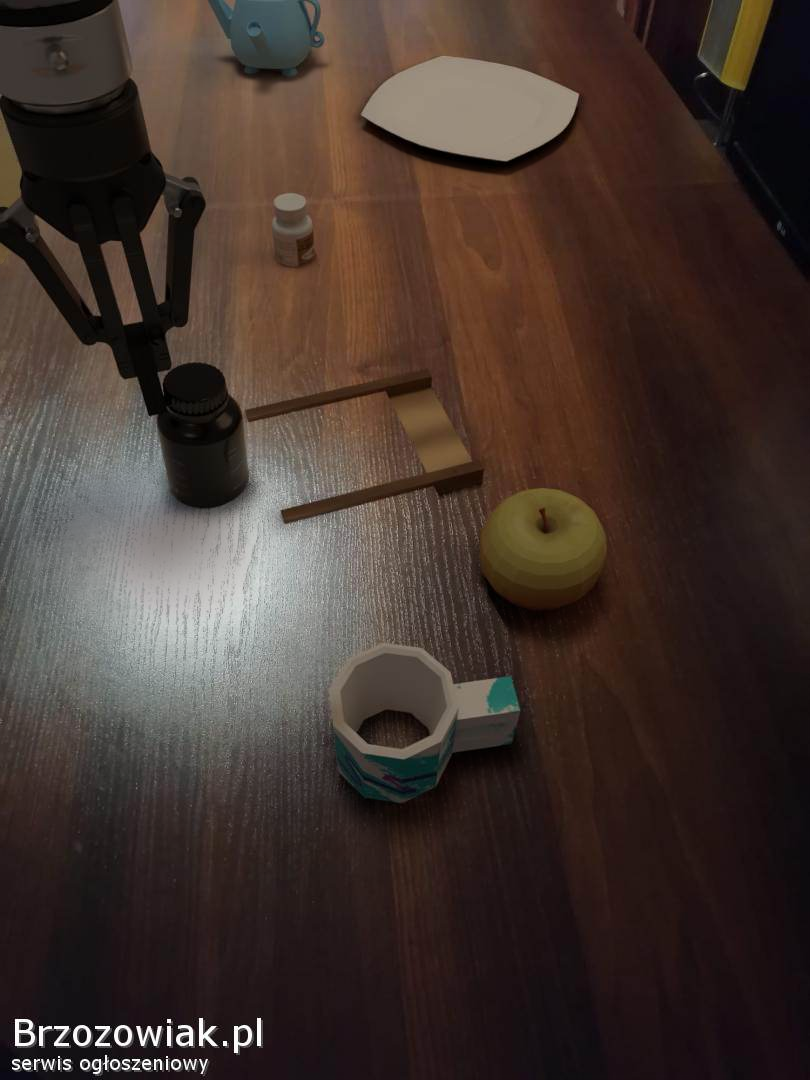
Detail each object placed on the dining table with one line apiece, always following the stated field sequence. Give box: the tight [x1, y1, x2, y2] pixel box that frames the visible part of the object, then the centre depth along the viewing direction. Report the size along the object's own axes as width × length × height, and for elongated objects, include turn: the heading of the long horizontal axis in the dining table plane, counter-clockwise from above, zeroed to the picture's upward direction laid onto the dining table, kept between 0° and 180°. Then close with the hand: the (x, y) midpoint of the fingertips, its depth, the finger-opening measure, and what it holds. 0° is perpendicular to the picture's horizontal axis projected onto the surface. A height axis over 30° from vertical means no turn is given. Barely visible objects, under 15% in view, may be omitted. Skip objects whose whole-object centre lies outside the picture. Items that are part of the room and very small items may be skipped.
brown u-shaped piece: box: [244, 368, 485, 524], centre depth 78 cm, size 14×18×2 cm
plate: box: [360, 55, 580, 163], centre depth 118 cm, size 27×27×2 cm
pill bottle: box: [271, 192, 316, 268], centre depth 93 cm, size 4×4×8 cm
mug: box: [328, 642, 521, 804], centre depth 57 cm, size 8×12×8 cm
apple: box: [478, 487, 608, 611], centre depth 67 cm, size 10×10×8 cm
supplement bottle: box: [155, 361, 250, 510], centre depth 71 cm, size 7×7×12 cm
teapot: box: [207, 0, 325, 77], centre depth 124 cm, size 15×14×11 cm
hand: (155, 402), depth 66 cm, fingers closed
